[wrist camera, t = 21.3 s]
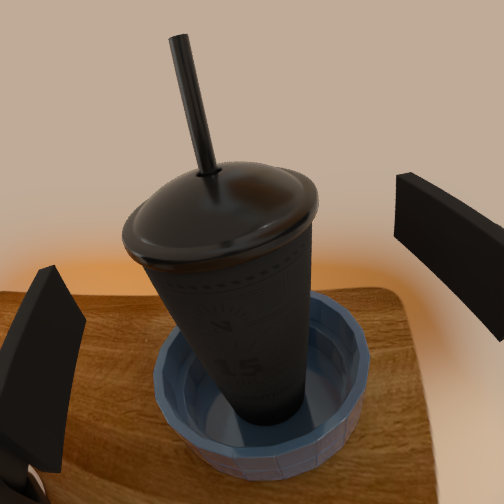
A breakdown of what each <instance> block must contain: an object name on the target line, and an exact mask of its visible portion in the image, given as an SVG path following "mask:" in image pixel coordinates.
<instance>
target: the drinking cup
mask: <svg viewBox="0 0 504 504" xmlns="http://www.w3.org/2000/svg"><path fill="white" fill-rule="evenodd" d="M168 40H169V44H170V49H171V53H172V58H173V62H174V67H175V71H176V76H177V80H178V85H179V89H180V93H181V98H182V102H183V106H184V111H185V115H186V119H187V123H188V127H189V131H190V135H191V140H192V144H193V148H194V152H195V156H196V160H197V164H198V169H195V170H192V171H189V172H187V173H185V174H182V175H180V176H179V177H177V178H175V179H173V180H172V181H170V182H168V183H167V184H165V185H164V186H162V187H161V188H160V189H159V190H158V191H156V192H155V193H154V194H153V195H152V196H151V197H150V198H149V199H147V200H146V201H145V202H144V203H142V204H141V205H140V206H139V207H138V208H136V210H134V211H133V213H132V214H131V215H130V216H129V217H128V219H127V220H126V222H125V224H124V227H123V231H122V241H123V244H124V246H125V249H126V251H127V252H128V254H129V256H130V257H131V258H132V259H133V260H134V261H136V262H137V263H139V264H140V265H142V266H143V268H144V270H145V271H146V273H147V275H148V277H149V278H150V280H151V282H152V284H153V286H154V287H155V289H156V291H157V292H158V294H159V296H160V298H161V299H162V301H163V303H164V304H165V306H166V308H167V309H168V311H169V313H170V314H171V316H172V318H173V319H174V321H175V323H176V324H177V326H178V327H179V329H180V331H181V332H182V334H183V335H184V337H185V339H186V340H187V342H188V343H189V345H190V346H191V348H192V350H193V351H194V353H195V354H196V356H197V357H198V359H199V360H200V362H201V363H202V365H203V366H204V368H205V369H206V371H207V372H208V374H209V375H210V377H211V378H212V380H213V381H214V382H215V384H216V385H217V387H218V388H219V390H220V391H221V393H222V394H223V395H224V397H225V398H226V400H227V401H228V402H229V404H230V405H231V407H232V408H233V409H234V411H235V412H236V413H237V415H238V416H239V417H240V418H242V419H243V420H244V421H246V422H248V423H251V424H254V425H258V426H271V425H276V424H279V423H282V422H284V421H286V420H288V419H289V418H291V417H292V416H293V415H294V414H295V413H296V412H297V411H298V410H299V409H300V407H301V405H302V403H303V400H304V395H305V382H306V368H307V353H308V336H309V316H310V290H311V252H312V251H311V250H312V248H311V247H312V221H313V219H314V218H315V216H316V213H317V210H318V206H319V199H318V192H317V188H316V187H315V185H314V183H313V182H312V181H311V180H310V179H309V178H308V177H306V176H305V175H303V174H301V173H298V172H296V171H293V170H289V169H284V168H279V167H273V166H269V165H265V164H261V163H254V162H224V163H218V164H216V159H215V155H214V151H213V146H212V142H211V137H210V133H209V128H208V124H207V119H206V115H205V111H204V106H203V102H202V97H201V92H200V88H199V83H198V79H197V74H196V69H195V65H194V60H193V55H192V51H191V46H190V41H189V37H188V34H181V35H177V36H173V37H171V38H169V39H168Z"/></svg>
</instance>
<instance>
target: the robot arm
mask: <svg viewBox="0 0 504 504" xmlns="http://www.w3.org/2000/svg"><path fill="white" fill-rule="evenodd" d="M394 237H395V238H396V239H397V240H398V241H400V242H401V243H402V244H403V245H404V246H405V247H406V248H407V249H408V250H410V251H411V252H412V253H413V254H414V255H415V256H416V257H417V258H418V259H419V260H420V261H421V262H423V263H424V264H425V265H426V266H427V267H428V268H429V269H430V270H431V271H432V272H433V273H434V274H435V275H436V276H437V277H438V278H439V279H440V280H441V281H442V282H443V283H444V284H446V285H447V286H448V288H449V289H450V290H451V291H452V292H454V294H455V295H457V297H459V299H460V300H461V301H462V302H463V303H464V304H465V305H466V306H467V307H468V308H469V309H470V310H471V311H472V312H473V313H474V314H475V315H476V317H477V318H478V319H479V320H480V321H481V322H482V323H483V324H484V325H485V326H486V327H487V328H488V330H489V331H490V332H491V333H492V334H493V335H494V336H495V337H496V338H497V340H498V341H499V342H501V341H502V340H503V339H504V228H502V227H501V226H499V225H498V224H495V223H493V222H492V221H491V220H489V219H488V218H486V217H485V216H483V215H482V214H480V213H478V212H477V211H476V210H474V209H472V208H471V207H469V206H468V205H466V204H465V203H463V202H462V201H460V200H458V199H457V198H455V197H453V196H452V195H450V194H448V193H447V192H445V191H443V190H442V189H440V188H438V187H437V186H435V185H433V184H431V183H430V182H428V181H426V180H424V179H423V178H421V177H419V176H417V175H415V174H414V173H412V172H410V173H405V174H399V175H396V205H395V226H394ZM85 323H86V318H85V317H84V315H83V314H82V312H81V310H80V309H79V307H78V305H77V304H76V302H75V300H74V299H73V297H72V295H71V294H70V292H69V290H68V288H67V287H66V285H65V283H64V281H63V280H62V278H61V276H60V274H59V272H58V270H57V269H56V267H55V265H52V266H49V267H46V268H43V269H40V270H39V271H38V273H37V274H36V277H35V278H34V280H33V282H32V284H31V286H30V288H29V289H28V291H27V293H26V295H25V297H24V299H23V301H22V303H21V305H20V307H19V309H18V312H17V314H16V316H15V318H14V320H13V322H12V324H11V327H10V329H9V331H8V333H7V336H6V338H5V340H4V343H3V345H2V347H1V350H0V504H51V503H50V502H49V500H48V498H47V497H46V495H45V494H44V492H43V490H42V488H41V487H40V485H39V483H38V482H37V480H36V478H35V477H34V476H33V474H32V473H30V472H28V467H29V464H30V465H32V466H33V467H35V468H36V469H38V470H40V471H41V472H48V473H61V465H62V453H63V443H64V435H65V427H66V419H67V412H68V406H69V400H70V394H71V388H72V383H73V377H74V372H75V367H76V362H77V358H78V353H79V348H80V344H81V340H82V336H83V331H84V327H85Z"/></svg>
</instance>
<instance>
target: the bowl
mask: <svg viewBox="0 0 504 504" xmlns="http://www.w3.org/2000/svg"><path fill="white" fill-rule="evenodd" d="M369 364H370V353H369V349H368V345H367V342H366V338H365V334H364V331H363V329H362V328H361V326H360V325H359V324H358V323H357V321H356V320H355V319H354V317H353V316H352V315H351V313H350V312H349V311H348V310H347V309H346V308H345V307H343V306H342V305H340V304H339V303H337V302H336V301H334V300H333V299H331V298H330V297H328V296H326V295H324V294H321V293H318V292H314V291H311V290H310V316H309V336H308V353H307V368H306V382H305V395H304V400H303V403H302V405H301V407H300V409H299V410H298V411H297V412H296V413H295V414H294V415H293V416H292V417H291V418H289V419H288V420H286V421H284V422H282V423H279V424H276V425H271V426H258V425H254V424H251V423H248V422H246V421H244V420H243V419H242V418H240V417H239V416H238V415H237V413H236V412H235V411H234V409H233V408H232V407H231V405H230V404H229V402H228V401H227V400H226V398H225V397H224V395H223V394H222V393H221V391H220V390H219V388H218V387H217V385H216V384H215V382H214V381H213V380H212V378H211V377H210V375H209V374H208V372H207V371H206V369H205V368H204V366H203V365H202V363H201V362H200V360H199V359H198V357H197V356H196V354H195V353H194V351H193V350H192V348H191V346H190V345H189V343H188V342H187V340H186V339H185V337H184V335H183V334H182V332H181V331H180V329H179V327H178V326H177V325H176V326H175V327H174V329H173V330H172V332H171V333H170V335H169V336H168V337H167V339H166V340H165V342H164V343H163V345H162V346H161V348H160V350H159V354H158V357H157V361H156V364H155V368H154V371H153V379H154V390H155V399H156V402H157V404H158V406H159V407H160V409H161V411H162V413H163V415H164V417H165V419H166V420H167V422H168V424H169V425H170V426H171V428H172V429H173V430H174V431H175V432H176V433H177V434H178V436H179V437H180V438H181V439H182V440H183V441H184V442H185V443H186V444H187V445H188V446H189V448H190V449H191V450H192V451H193V452H194V453H195V454H196V455H197V456H199V457H200V458H201V459H203V460H204V461H205V462H207V463H208V464H209V465H211V466H212V467H213V468H215V469H216V470H218V471H219V472H222V473H225V474H228V475H232V476H235V477H238V478H242V479H245V480H250V481H261V480H283V479H287V478H290V477H293V476H296V475H298V474H301V473H304V472H307V471H309V470H312V469H315V468H316V467H318V466H320V465H321V464H322V463H323V462H325V461H326V460H327V459H329V458H330V457H331V456H332V455H334V454H335V453H336V452H337V451H339V450H340V449H341V448H342V447H343V446H344V444H345V443H346V441H347V440H348V438H349V436H350V435H351V433H352V432H353V430H354V428H355V427H356V425H357V423H358V421H359V417H360V413H361V408H362V403H363V399H364V394H365V389H366V384H367V377H368V371H369Z"/></svg>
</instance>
